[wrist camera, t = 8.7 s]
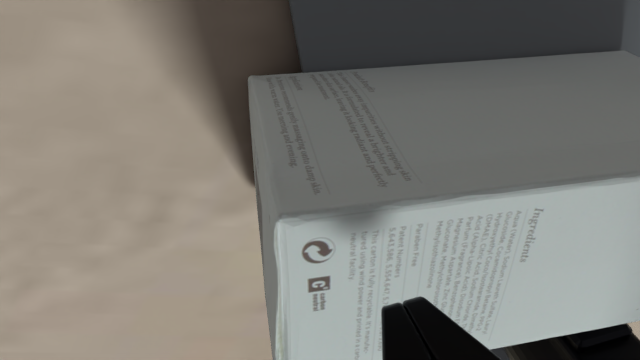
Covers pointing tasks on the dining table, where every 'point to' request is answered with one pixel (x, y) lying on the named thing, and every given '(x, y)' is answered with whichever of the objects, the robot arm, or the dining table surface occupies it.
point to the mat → (456, 30)
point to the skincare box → (448, 199)
